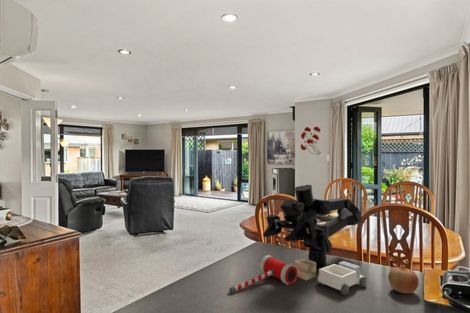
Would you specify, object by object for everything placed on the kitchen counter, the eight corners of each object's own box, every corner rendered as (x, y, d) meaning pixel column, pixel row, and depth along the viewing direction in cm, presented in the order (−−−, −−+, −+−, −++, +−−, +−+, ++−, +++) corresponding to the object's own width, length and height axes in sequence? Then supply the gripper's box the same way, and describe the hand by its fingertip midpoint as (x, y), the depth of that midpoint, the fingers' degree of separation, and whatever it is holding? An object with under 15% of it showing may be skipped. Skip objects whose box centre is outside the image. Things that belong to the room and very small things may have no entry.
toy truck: (339, 275, 103) (339, 259, 103) (366, 285, 96) (367, 267, 96) (315, 285, 95) (315, 267, 95) (343, 296, 88) (343, 277, 88)
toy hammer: (243, 302, 84) (244, 279, 84) (219, 287, 93) (219, 266, 93) (298, 282, 98) (298, 263, 98) (272, 271, 107) (272, 253, 107)
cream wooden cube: (304, 272, 106) (304, 258, 106) (315, 277, 102) (316, 262, 102) (294, 275, 103) (294, 261, 103) (306, 280, 99) (306, 265, 99)
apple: (381, 288, 94) (382, 262, 94) (399, 284, 97) (400, 259, 97) (405, 299, 87) (406, 271, 87) (424, 295, 90) (424, 268, 90)
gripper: (277, 195, 113) (248, 211, 103) (320, 197, 98) (291, 217, 88) (284, 222, 114) (256, 241, 104) (327, 229, 100) (299, 252, 90)
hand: (274, 237), depth 97 cm, fingers open, 9 cm apart
